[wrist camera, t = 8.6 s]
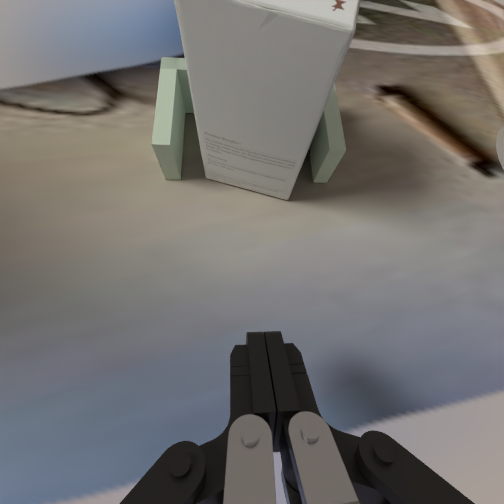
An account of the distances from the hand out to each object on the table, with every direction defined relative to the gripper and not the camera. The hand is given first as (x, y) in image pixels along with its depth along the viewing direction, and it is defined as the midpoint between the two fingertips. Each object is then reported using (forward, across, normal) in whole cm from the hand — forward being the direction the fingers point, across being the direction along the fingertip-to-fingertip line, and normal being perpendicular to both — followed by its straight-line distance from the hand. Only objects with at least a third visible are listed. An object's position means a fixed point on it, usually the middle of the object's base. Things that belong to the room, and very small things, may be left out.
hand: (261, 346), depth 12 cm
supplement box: (+16, -1, -6) cm, 17 cm away
